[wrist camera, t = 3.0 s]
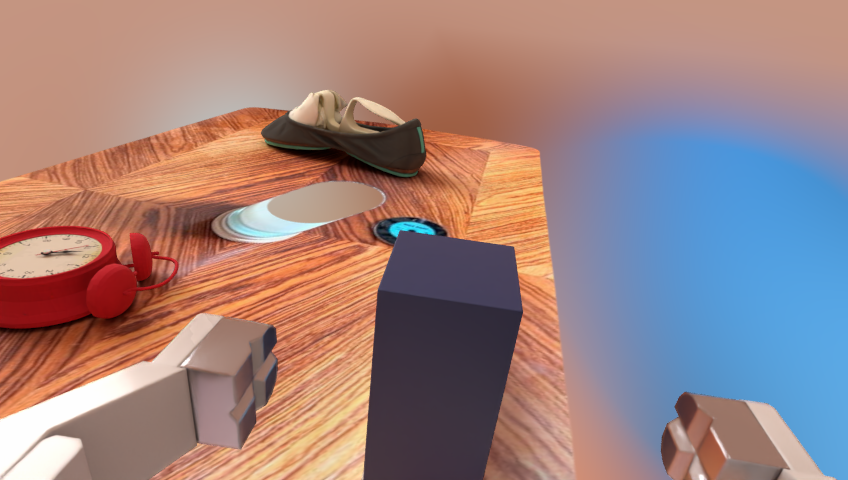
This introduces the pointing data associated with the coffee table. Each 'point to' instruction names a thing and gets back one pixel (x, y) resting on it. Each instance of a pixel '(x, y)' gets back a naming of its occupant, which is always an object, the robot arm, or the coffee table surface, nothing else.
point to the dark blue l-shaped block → (440, 357)
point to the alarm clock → (68, 275)
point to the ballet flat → (350, 133)
